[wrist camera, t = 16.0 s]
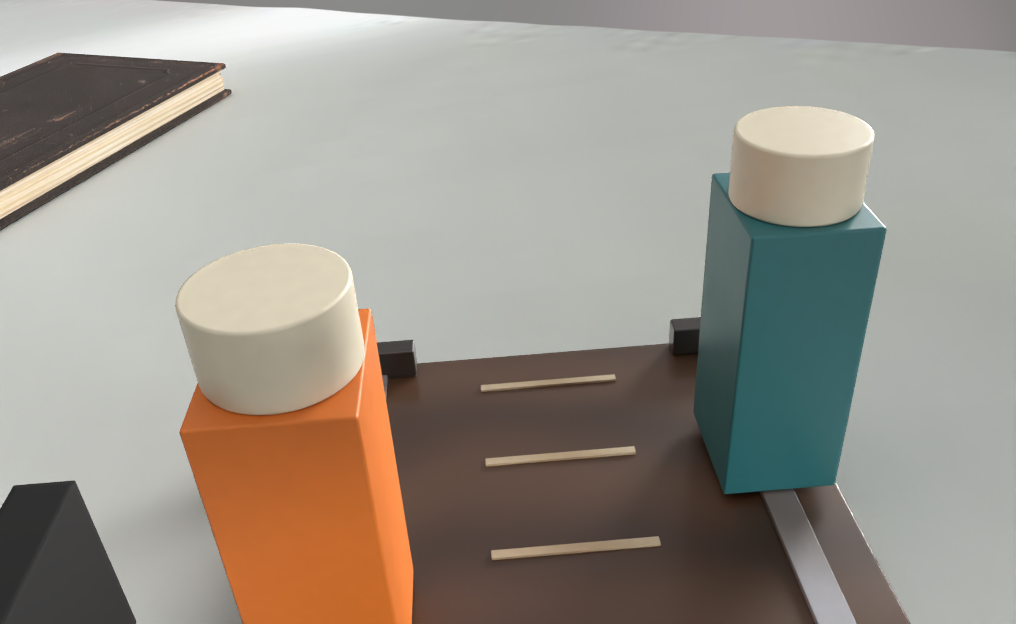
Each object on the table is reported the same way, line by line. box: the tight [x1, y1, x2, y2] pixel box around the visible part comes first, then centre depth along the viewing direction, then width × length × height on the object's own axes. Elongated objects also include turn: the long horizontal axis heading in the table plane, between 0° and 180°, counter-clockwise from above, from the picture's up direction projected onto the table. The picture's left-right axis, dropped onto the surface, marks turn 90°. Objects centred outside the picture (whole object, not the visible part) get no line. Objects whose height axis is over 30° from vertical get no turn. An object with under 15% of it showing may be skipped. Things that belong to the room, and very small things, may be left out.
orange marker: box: [175, 244, 413, 624], centre depth 21 cm, size 4×4×11 cm
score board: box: [377, 317, 910, 624], centre depth 26 cm, size 20×17×2 cm
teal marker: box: [693, 106, 886, 494], centre depth 26 cm, size 4×4×11 cm
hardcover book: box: [0, 53, 231, 230], centre depth 59 cm, size 16×23×2 cm
